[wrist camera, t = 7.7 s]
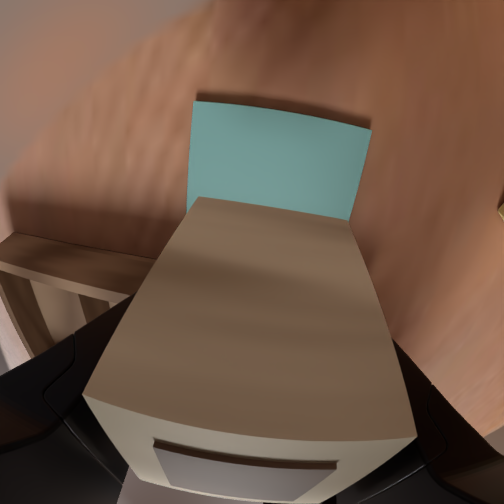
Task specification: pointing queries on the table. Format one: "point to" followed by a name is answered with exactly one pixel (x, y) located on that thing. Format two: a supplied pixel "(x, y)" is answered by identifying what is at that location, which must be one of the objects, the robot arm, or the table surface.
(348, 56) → the table surface
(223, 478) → the block with dark square
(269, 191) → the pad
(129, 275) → the caddy
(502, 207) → the candy box
